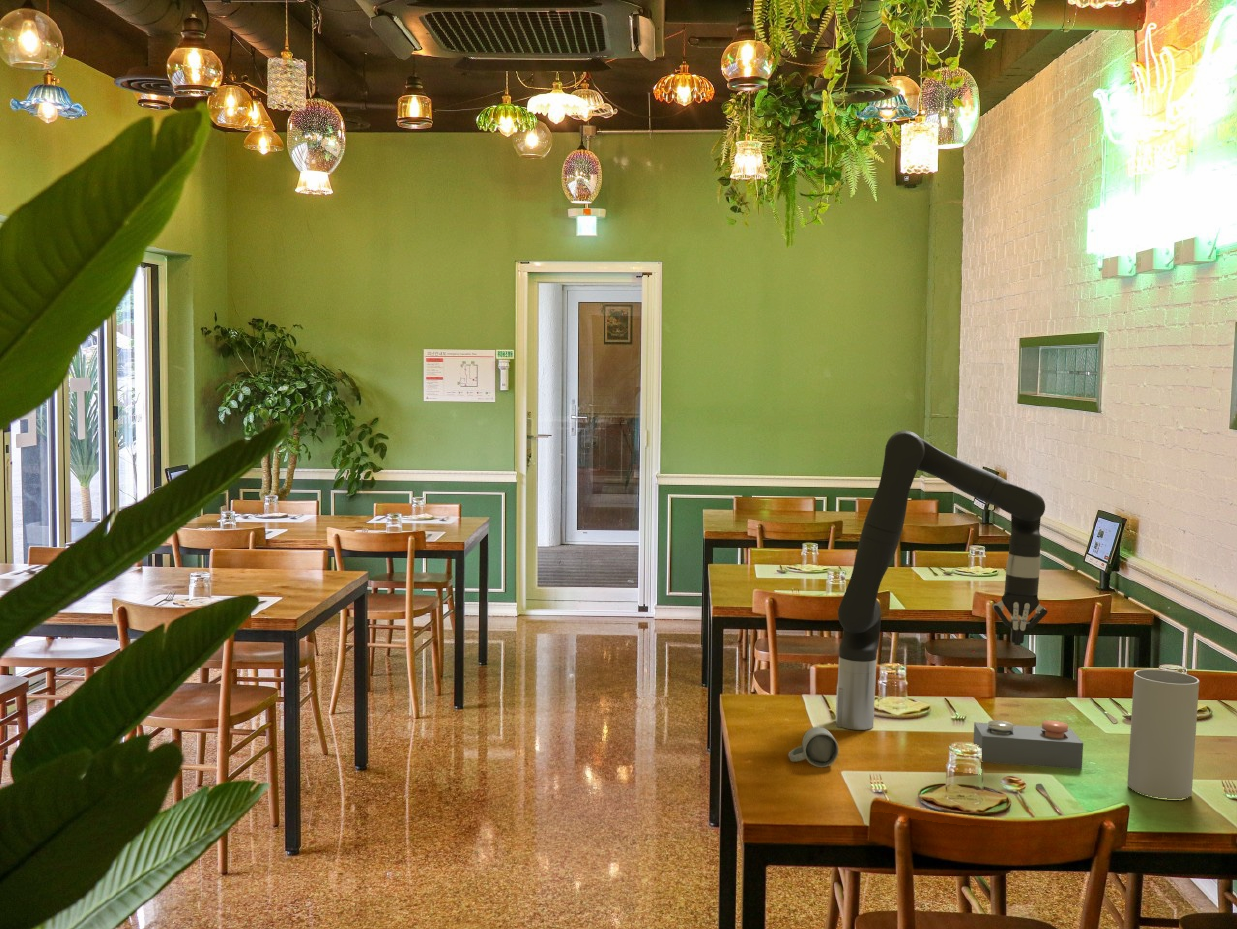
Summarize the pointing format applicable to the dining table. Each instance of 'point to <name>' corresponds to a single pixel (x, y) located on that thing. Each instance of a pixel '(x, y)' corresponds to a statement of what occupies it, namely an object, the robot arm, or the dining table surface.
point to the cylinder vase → (1163, 733)
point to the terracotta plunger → (1054, 728)
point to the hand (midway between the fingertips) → (1016, 644)
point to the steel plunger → (1000, 727)
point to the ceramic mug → (816, 748)
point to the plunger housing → (1029, 747)
